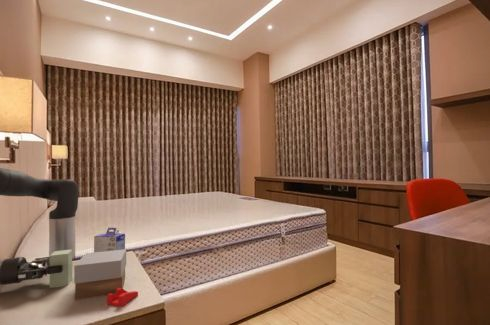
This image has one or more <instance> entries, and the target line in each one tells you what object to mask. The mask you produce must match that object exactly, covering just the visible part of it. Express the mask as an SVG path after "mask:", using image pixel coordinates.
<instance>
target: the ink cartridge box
mask: <svg viewBox="0 0 490 325" xmlns="http://www.w3.org/2000/svg"><path fill="white" fill-rule="evenodd" d="M111 230H112V231H111ZM116 232H117V227H108V228H107V230H106V232H105V233H101V234H97V235H94V237H93V253H94V252H104V251H114V250H124V249H126V234H125V233H121V234H115V233H116Z"/></svg>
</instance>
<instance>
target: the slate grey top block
mask: <svg viewBox="0 0 490 325" xmlns="http://www.w3.org/2000/svg"><path fill="white" fill-rule="evenodd" d="M126 266H127V248H125V249H124V250H114V251H104V252H94V251H93V252H89V253H88V252H87V253H85V254H84V255H83V256H81V258H80V259H79V260H78V262H76V263H75V265H74V267H73V268H74V269H73V270H74V275H73V276H74V277H73V278H74V279H73V280H74V281H73V282H74V284H76V283H83V282H91V281H98V280H106V279H114V278H121V277H122V274H123V271H124V269H125V270H126Z"/></svg>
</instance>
